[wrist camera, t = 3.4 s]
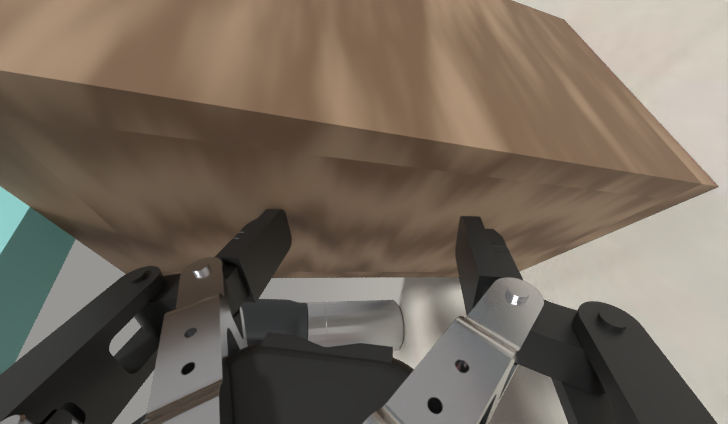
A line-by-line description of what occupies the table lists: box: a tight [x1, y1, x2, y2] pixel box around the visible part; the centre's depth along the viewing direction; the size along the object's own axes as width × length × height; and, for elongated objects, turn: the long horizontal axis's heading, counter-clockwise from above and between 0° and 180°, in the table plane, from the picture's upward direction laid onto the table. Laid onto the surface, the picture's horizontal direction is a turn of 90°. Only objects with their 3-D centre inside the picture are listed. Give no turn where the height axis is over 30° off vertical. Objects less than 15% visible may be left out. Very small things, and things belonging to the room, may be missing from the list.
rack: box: [0, 0, 719, 278], centre depth 21 cm, size 16×18×32 cm
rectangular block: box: [0, 186, 75, 374], centre depth 13 cm, size 3×28×3 cm, turn 15°
